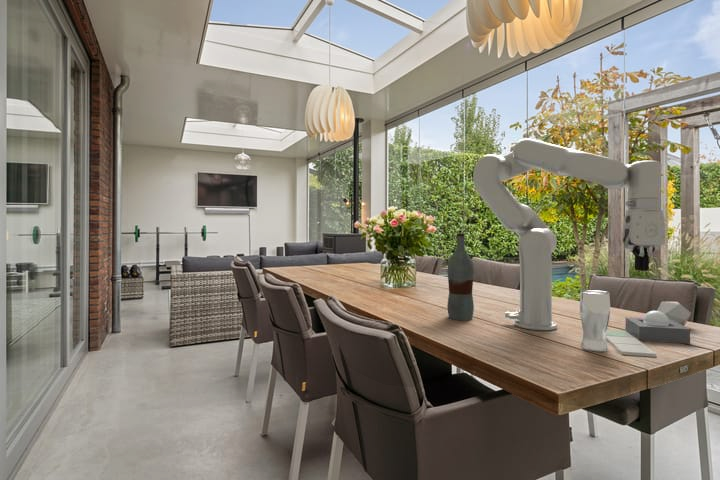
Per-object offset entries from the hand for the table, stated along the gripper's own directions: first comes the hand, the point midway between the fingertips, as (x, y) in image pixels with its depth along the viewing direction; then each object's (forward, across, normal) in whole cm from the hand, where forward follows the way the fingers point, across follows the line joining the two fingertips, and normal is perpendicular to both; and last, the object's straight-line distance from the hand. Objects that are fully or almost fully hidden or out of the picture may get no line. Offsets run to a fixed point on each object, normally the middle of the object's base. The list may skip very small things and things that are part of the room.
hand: (641, 270), depth 116 cm
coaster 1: (+20, -4, +4) cm, 21 cm away
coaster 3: (+20, -11, -10) cm, 25 cm away
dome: (+18, +7, +2) cm, 19 cm away
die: (+20, +23, +12) cm, 32 cm away
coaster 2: (+20, -7, -3) cm, 21 cm away
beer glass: (+20, -19, -6) cm, 28 cm away
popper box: (+20, +7, +2) cm, 21 cm away
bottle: (+21, -39, +35) cm, 56 cm away
